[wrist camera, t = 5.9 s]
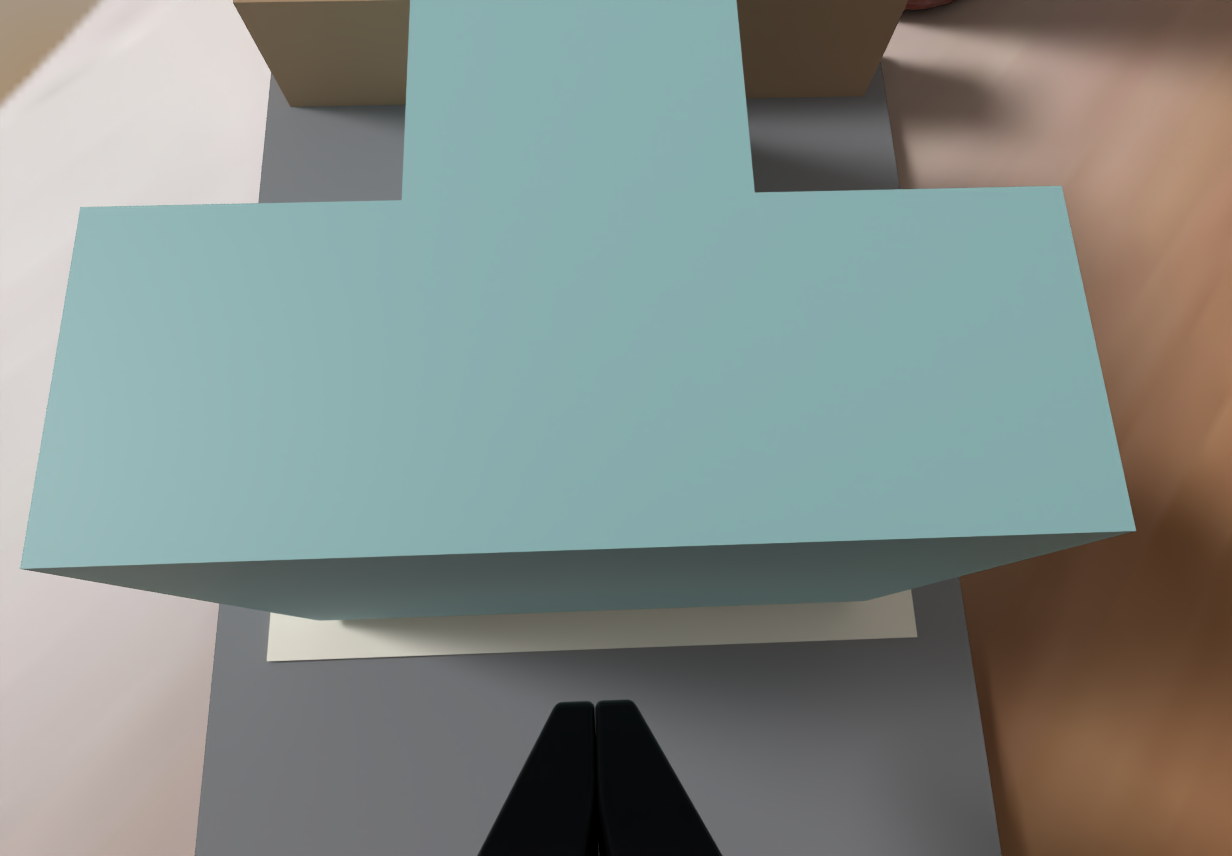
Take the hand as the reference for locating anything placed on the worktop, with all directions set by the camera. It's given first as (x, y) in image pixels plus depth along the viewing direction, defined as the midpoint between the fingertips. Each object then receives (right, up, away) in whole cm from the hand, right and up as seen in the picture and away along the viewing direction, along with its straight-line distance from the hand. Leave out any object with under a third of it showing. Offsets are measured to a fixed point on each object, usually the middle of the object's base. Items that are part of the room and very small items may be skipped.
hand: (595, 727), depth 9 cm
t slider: (0, +5, +8) cm, 9 cm away
